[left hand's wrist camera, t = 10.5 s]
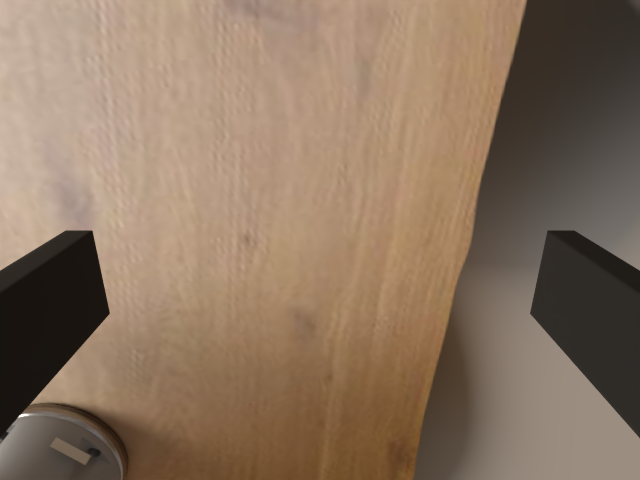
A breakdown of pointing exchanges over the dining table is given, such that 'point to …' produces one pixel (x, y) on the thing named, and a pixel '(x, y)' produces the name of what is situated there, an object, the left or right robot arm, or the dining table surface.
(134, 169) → the dining table surface
